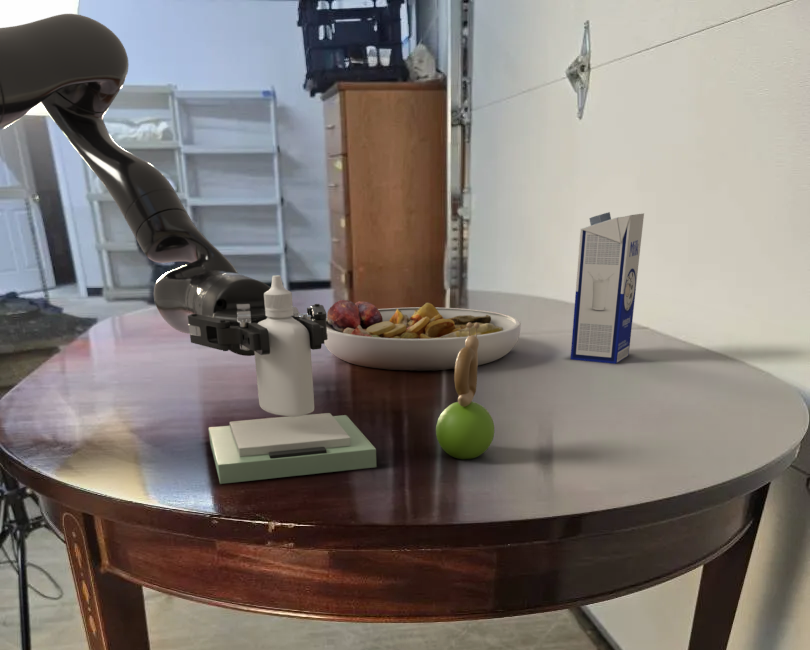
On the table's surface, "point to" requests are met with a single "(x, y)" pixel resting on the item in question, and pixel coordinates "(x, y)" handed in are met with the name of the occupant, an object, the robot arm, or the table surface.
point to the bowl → (415, 335)
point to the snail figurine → (465, 409)
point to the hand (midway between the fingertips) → (291, 339)
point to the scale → (288, 447)
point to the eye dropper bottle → (284, 358)
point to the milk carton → (606, 288)
